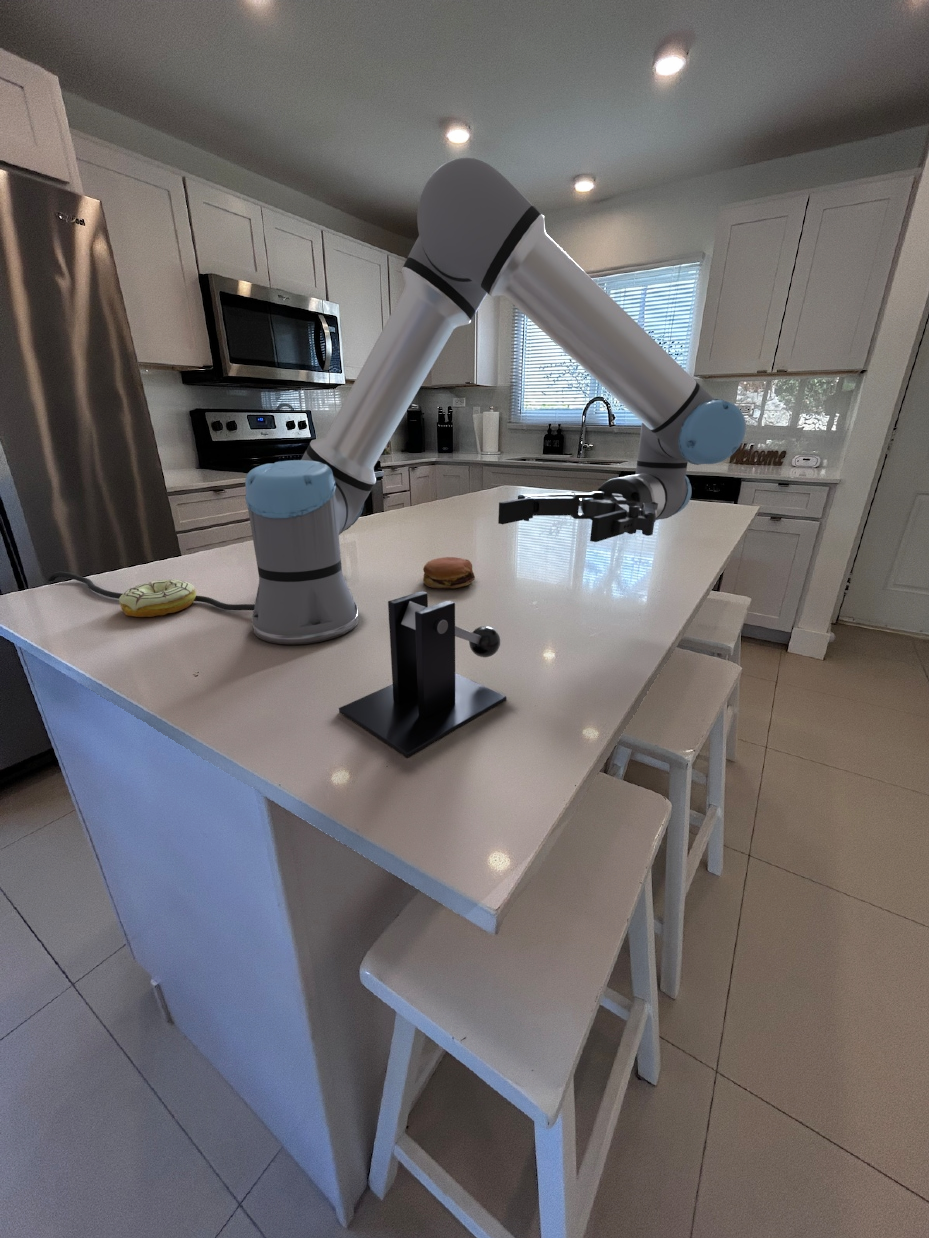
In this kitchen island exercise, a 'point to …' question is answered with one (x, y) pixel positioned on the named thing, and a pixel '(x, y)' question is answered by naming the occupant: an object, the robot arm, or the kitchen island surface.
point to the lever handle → (463, 634)
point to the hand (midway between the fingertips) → (543, 521)
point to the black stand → (421, 683)
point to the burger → (448, 573)
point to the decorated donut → (157, 598)
